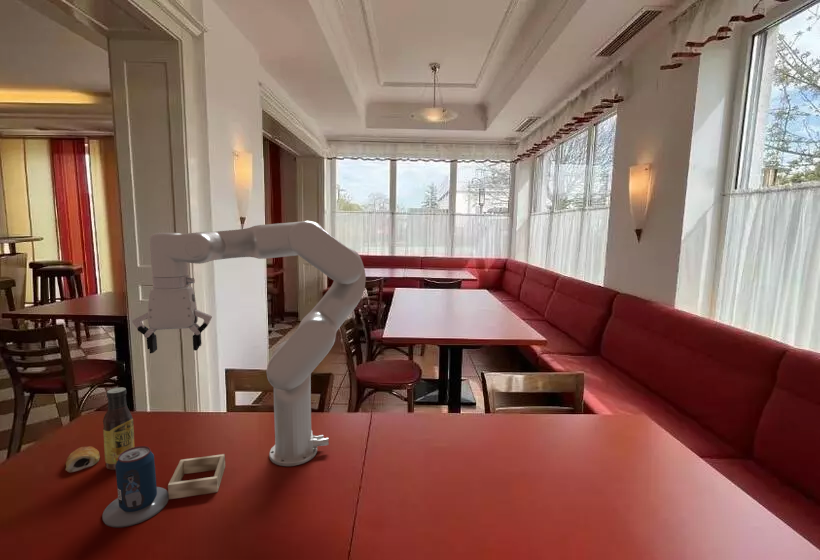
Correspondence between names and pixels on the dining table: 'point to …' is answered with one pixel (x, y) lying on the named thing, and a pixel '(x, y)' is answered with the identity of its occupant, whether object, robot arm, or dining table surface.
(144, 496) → the soda can
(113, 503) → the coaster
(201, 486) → the cup holder
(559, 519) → the dining table surface
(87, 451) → the pastry
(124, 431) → the sauce bottle
